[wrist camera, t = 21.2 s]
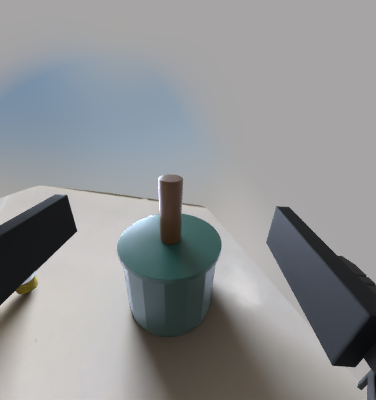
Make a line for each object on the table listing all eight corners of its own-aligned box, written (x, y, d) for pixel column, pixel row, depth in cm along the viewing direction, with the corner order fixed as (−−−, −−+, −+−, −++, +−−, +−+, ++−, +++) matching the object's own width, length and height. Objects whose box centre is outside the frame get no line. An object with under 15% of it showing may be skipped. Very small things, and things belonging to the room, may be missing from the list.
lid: (222, 225, 30) (231, 168, 25) (216, 301, 18) (230, 215, 13) (145, 214, 32) (141, 160, 28) (94, 273, 20) (73, 193, 16)
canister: (213, 271, 34) (220, 224, 29) (204, 348, 22) (212, 291, 18) (150, 258, 36) (147, 213, 31) (113, 323, 25) (100, 266, 20)
